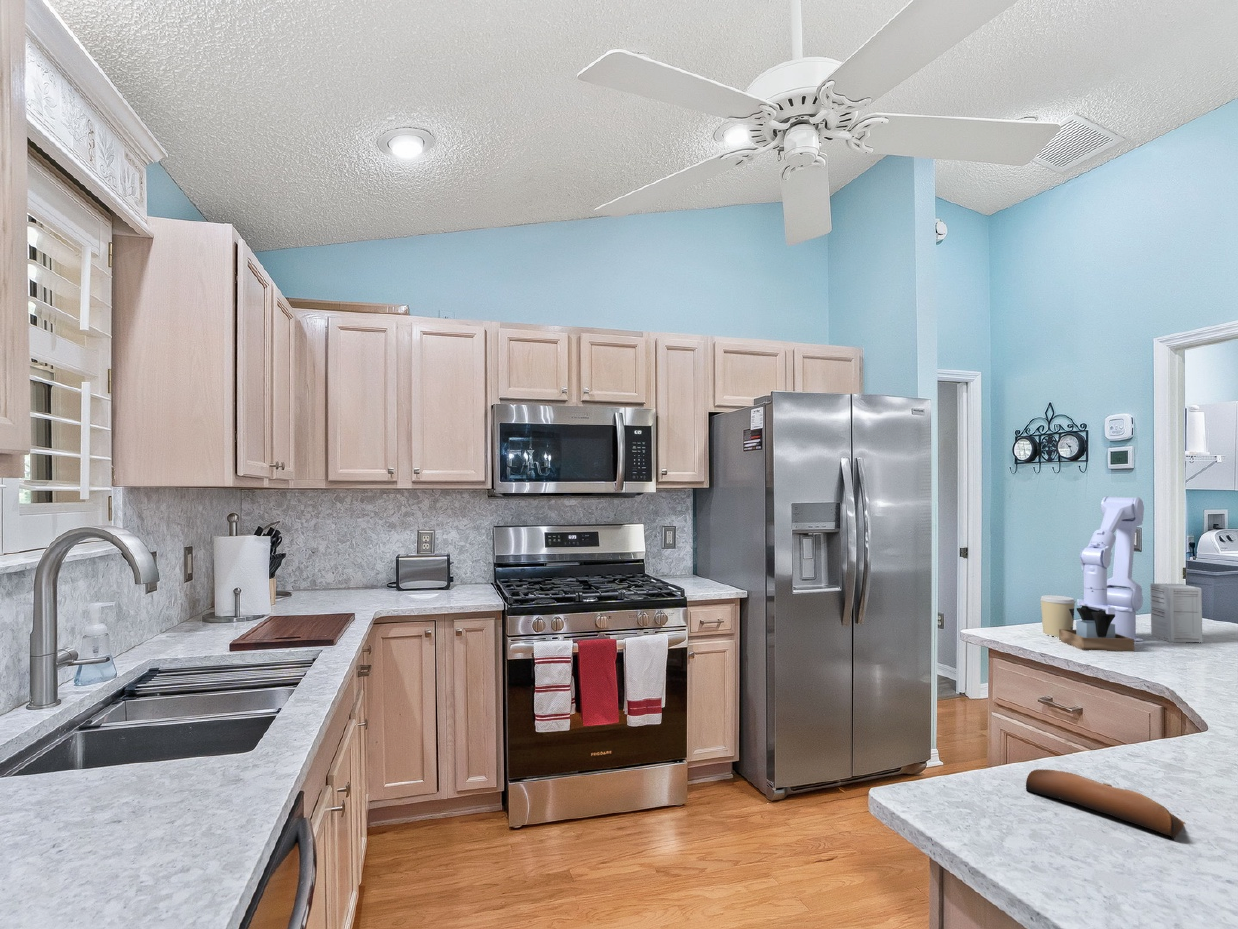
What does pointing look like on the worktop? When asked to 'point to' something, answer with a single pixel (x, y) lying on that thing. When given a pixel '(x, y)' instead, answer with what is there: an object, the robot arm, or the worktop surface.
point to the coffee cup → (1057, 613)
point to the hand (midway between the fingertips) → (1095, 634)
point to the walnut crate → (1096, 641)
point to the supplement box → (1176, 612)
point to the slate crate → (1092, 629)
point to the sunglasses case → (1104, 799)
